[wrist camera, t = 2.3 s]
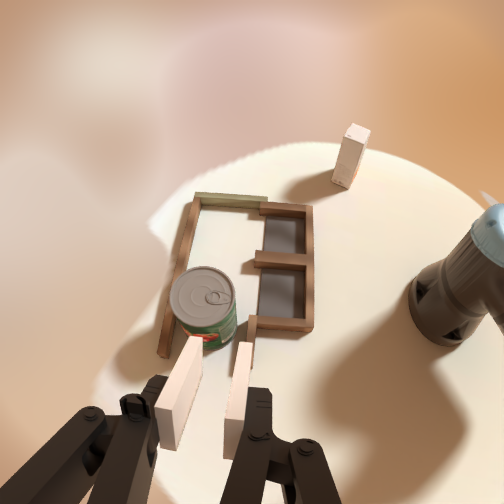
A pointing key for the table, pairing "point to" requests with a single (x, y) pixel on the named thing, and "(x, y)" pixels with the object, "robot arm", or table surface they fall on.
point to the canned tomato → (205, 306)
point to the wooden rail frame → (264, 265)
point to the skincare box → (350, 155)
